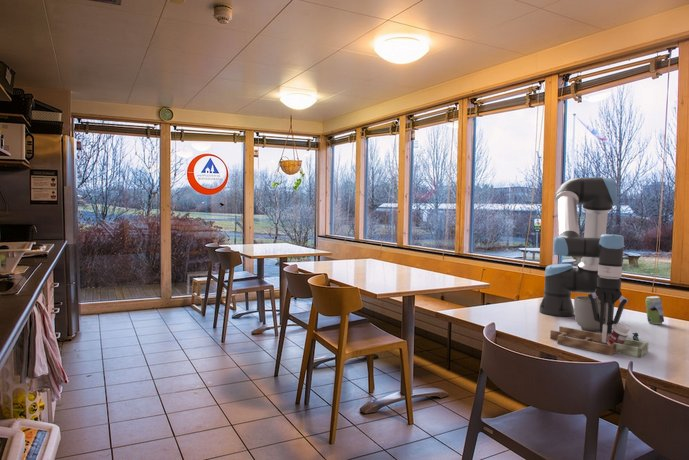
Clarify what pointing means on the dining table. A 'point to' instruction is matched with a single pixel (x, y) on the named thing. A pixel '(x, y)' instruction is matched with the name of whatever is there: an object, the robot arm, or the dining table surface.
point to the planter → (587, 314)
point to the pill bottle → (618, 334)
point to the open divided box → (627, 348)
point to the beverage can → (654, 310)
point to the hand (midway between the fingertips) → (604, 341)
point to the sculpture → (635, 336)
